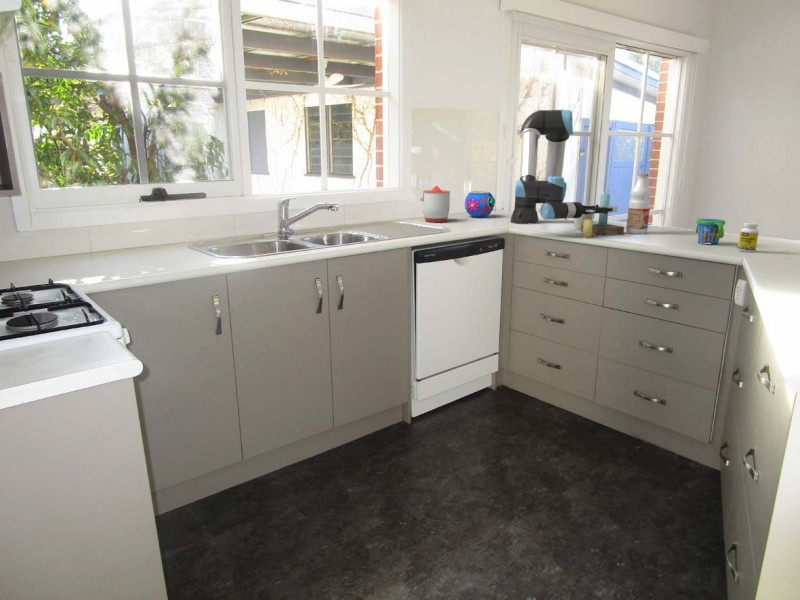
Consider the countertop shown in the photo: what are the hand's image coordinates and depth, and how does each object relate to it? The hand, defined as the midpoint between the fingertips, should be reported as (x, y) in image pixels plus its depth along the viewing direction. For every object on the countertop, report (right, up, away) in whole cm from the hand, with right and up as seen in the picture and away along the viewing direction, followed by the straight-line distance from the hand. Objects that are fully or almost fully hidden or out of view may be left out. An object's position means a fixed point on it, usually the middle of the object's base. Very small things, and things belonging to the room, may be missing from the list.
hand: (613, 208), depth 270 cm
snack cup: (+29, -20, -29) cm, 46 cm away
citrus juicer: (-84, 0, +47) cm, 96 cm away
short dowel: (-17, -15, -11) cm, 25 cm away
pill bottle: (+35, -25, -47) cm, 64 cm away
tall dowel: (-5, -9, +1) cm, 10 cm away
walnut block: (-5, -12, +2) cm, 13 cm away
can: (-9, -7, +18) cm, 21 cm away
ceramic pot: (-56, +6, +66) cm, 87 cm away
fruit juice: (+12, -12, +2) cm, 17 cm away
